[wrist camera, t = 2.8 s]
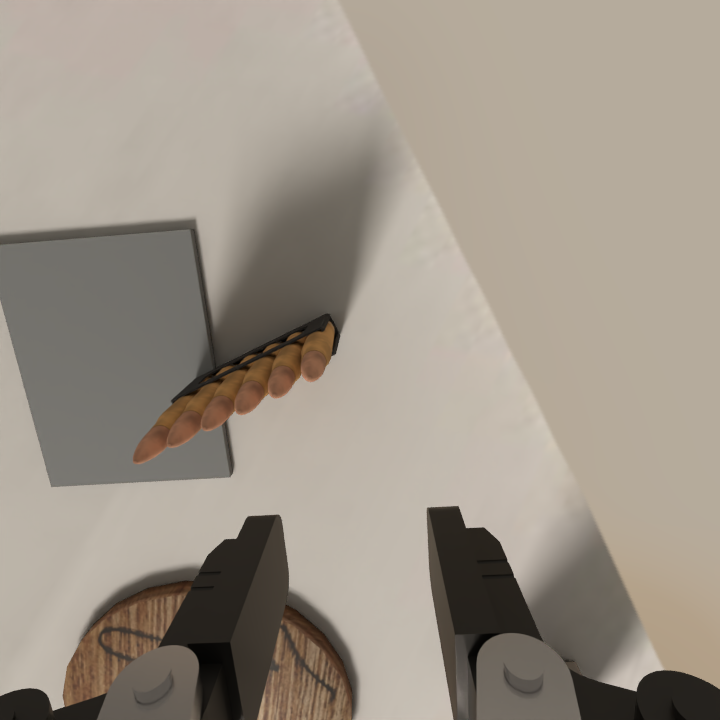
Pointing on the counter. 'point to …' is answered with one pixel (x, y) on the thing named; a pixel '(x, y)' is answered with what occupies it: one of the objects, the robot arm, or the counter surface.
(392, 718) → the counter surface
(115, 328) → the slate mat
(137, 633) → the trivet
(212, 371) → the ammunition clip
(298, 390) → the counter surface
